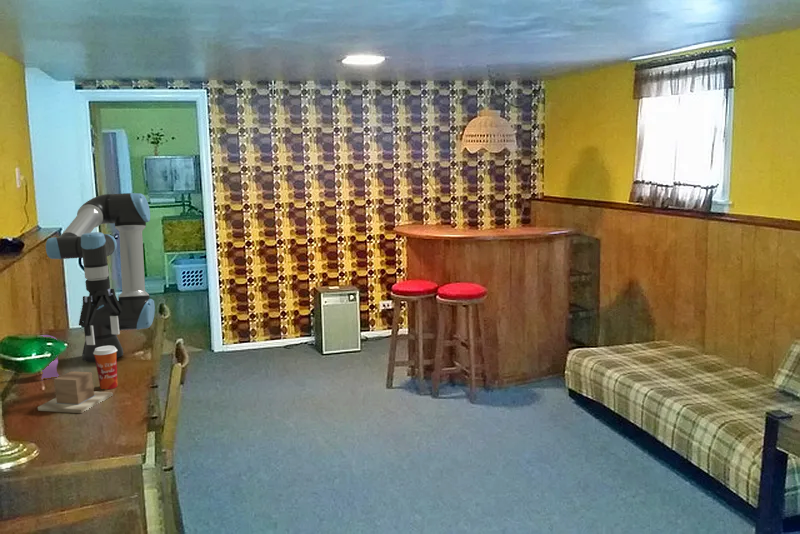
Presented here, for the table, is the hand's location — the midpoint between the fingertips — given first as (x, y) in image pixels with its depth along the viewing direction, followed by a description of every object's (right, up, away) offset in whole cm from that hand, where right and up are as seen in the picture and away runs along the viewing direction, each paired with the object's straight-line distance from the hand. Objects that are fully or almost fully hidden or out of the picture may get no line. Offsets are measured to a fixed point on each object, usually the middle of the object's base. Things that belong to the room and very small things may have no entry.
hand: (103, 339), depth 250 cm
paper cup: (+1, -17, +3) cm, 17 cm away
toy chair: (-28, -16, +18) cm, 36 cm away
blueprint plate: (-4, -20, -12) cm, 23 cm away
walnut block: (-4, -18, -12) cm, 22 cm away
